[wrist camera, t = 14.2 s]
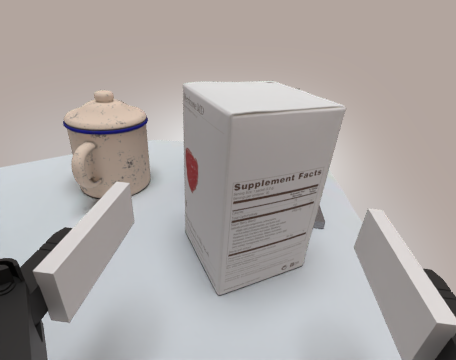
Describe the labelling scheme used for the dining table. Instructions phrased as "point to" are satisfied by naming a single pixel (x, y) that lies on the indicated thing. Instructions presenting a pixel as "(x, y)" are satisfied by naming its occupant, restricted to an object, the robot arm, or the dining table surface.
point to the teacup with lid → (108, 145)
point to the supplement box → (254, 175)
